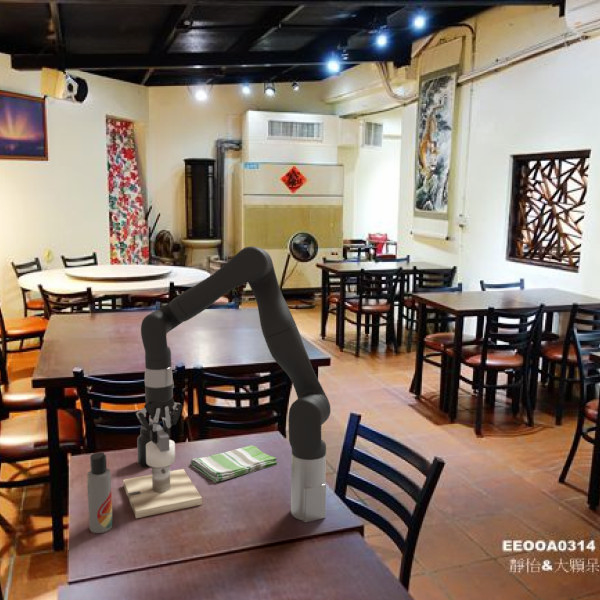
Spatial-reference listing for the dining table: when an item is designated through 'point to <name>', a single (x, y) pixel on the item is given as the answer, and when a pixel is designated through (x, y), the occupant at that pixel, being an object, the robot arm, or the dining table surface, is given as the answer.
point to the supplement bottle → (143, 446)
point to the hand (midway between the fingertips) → (160, 440)
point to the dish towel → (233, 463)
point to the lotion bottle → (99, 494)
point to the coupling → (160, 450)
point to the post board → (161, 492)
